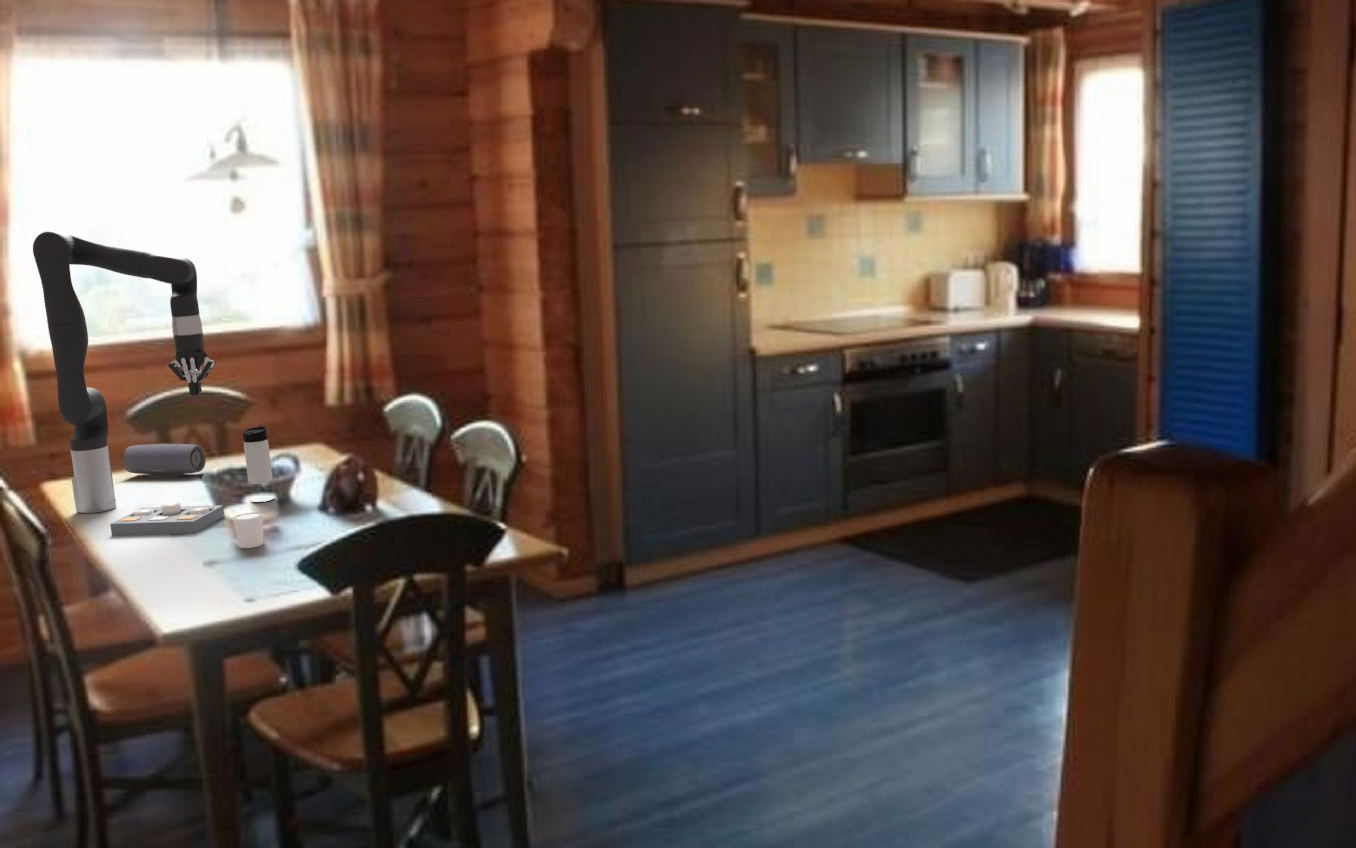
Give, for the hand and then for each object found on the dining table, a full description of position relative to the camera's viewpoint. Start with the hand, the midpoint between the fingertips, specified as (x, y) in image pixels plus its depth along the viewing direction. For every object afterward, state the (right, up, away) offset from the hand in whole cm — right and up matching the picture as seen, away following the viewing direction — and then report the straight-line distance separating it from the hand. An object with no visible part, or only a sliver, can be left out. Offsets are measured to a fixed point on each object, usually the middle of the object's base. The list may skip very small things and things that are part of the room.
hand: (195, 395), depth 353 cm
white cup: (+30, -36, -46) cm, 66 cm away
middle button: (+2, -31, -21) cm, 38 cm away
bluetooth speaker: (-24, -24, +41) cm, 53 cm away
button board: (+2, -34, -22) cm, 40 cm away
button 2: (+9, -32, -22) cm, 40 cm away
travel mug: (+18, -29, 0) cm, 34 cm away
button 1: (-6, -33, -20) cm, 39 cm away
